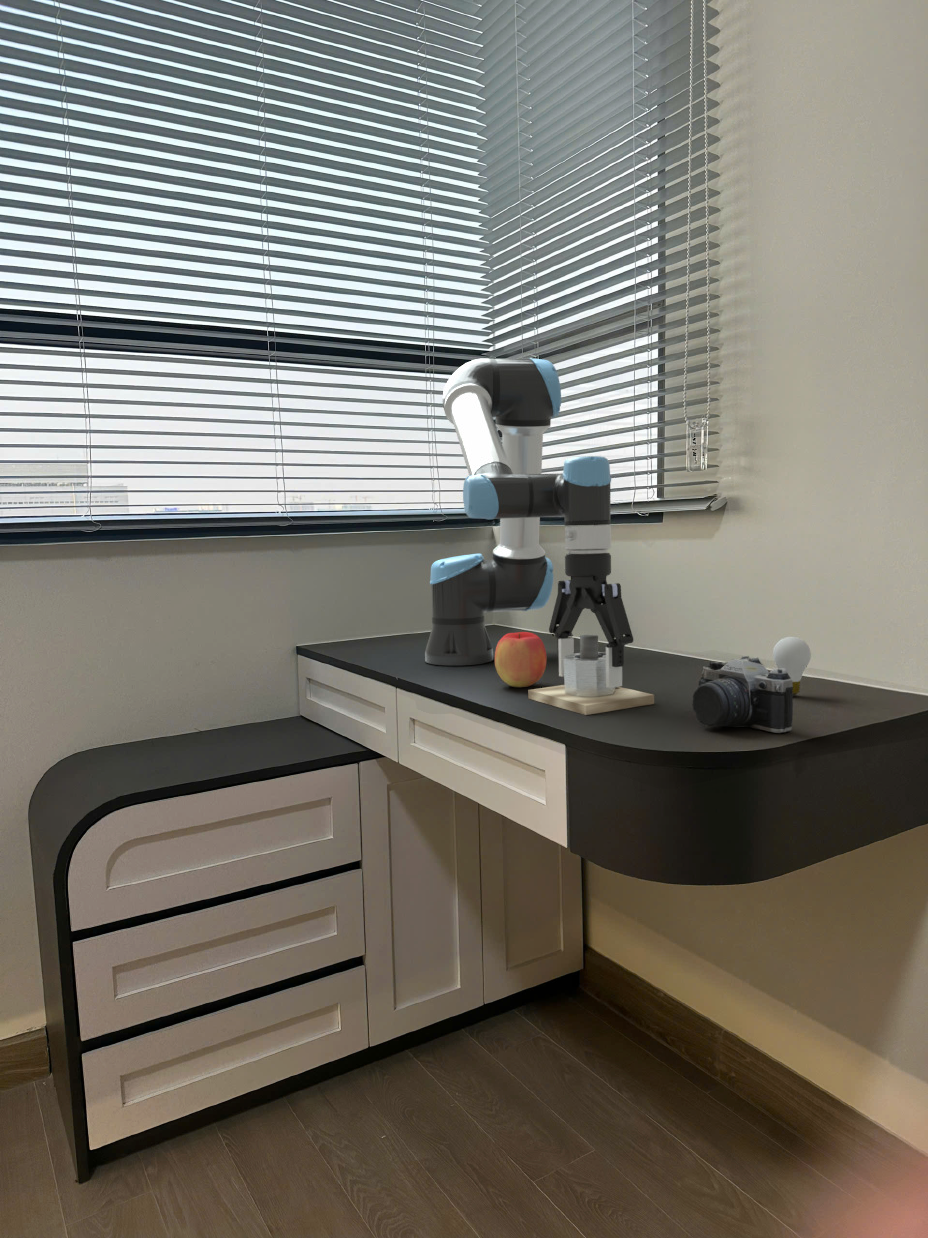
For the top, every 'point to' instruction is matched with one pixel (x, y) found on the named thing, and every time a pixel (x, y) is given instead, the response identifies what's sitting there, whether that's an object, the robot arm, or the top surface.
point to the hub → (586, 676)
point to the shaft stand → (590, 704)
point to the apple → (520, 659)
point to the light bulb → (792, 658)
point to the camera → (744, 696)
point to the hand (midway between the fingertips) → (589, 681)
